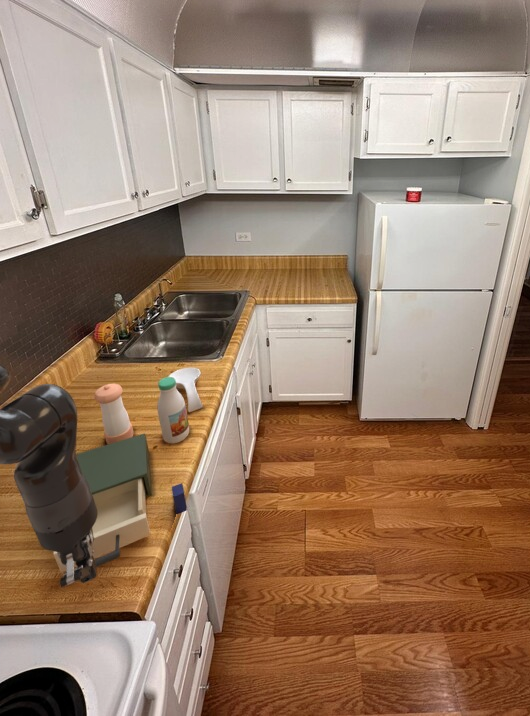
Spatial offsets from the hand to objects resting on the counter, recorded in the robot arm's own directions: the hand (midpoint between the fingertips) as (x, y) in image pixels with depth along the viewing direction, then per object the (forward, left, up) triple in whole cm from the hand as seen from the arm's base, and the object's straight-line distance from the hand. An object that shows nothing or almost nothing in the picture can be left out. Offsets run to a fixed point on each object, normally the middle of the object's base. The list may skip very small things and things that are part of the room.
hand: (89, 576), depth 57 cm
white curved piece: (+23, +62, -12) cm, 67 cm away
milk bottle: (+16, +42, -12) cm, 46 cm away
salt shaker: (+1, +48, -12) cm, 50 cm away
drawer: (0, +16, -11) cm, 19 cm away
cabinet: (0, +30, -12) cm, 32 cm away
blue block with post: (+15, +18, -12) cm, 26 cm away
